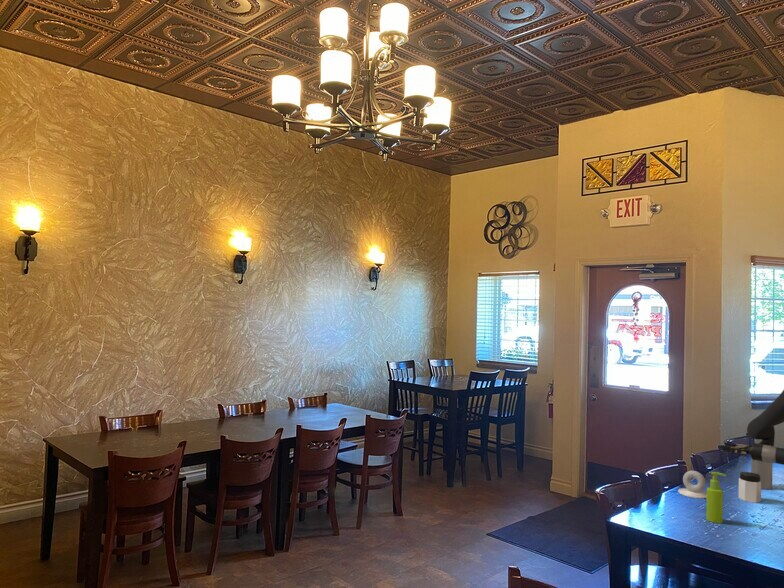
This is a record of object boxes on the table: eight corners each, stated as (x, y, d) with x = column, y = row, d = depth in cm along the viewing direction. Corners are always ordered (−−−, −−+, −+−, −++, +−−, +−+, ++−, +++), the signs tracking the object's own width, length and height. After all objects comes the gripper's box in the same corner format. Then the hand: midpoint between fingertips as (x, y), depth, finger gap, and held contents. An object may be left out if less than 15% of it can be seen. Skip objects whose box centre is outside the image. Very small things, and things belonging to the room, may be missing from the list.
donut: (706, 493, 270) (706, 472, 271) (704, 495, 268) (704, 473, 268) (684, 488, 277) (684, 467, 278) (681, 490, 275) (682, 469, 275)
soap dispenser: (725, 525, 233) (725, 475, 233) (705, 521, 236) (706, 472, 237) (725, 520, 238) (726, 472, 238) (706, 517, 241) (707, 469, 242)
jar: (754, 504, 261) (754, 477, 262) (735, 498, 268) (736, 473, 268) (763, 501, 266) (764, 475, 267) (745, 496, 273) (745, 470, 273)
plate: (682, 488, 282) (682, 485, 282) (711, 494, 273) (712, 492, 273) (674, 493, 272) (674, 491, 272) (704, 500, 264) (704, 498, 264)
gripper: (767, 442, 260) (727, 436, 271) (761, 447, 250) (719, 440, 261) (767, 458, 260) (727, 451, 271) (761, 464, 250) (719, 457, 261)
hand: (723, 446), depth 266 cm, fingers open, 8 cm apart
